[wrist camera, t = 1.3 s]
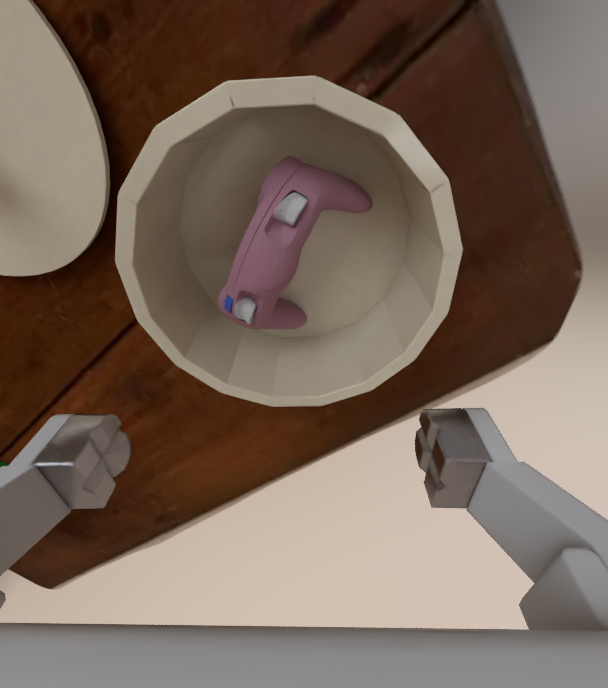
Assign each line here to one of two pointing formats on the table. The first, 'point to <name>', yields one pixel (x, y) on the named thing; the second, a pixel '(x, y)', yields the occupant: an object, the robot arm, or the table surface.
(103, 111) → the table surface
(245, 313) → the video game controller
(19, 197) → the lid
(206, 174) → the cream bowl
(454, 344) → the table surface
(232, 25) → the table surface
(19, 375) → the table surface
